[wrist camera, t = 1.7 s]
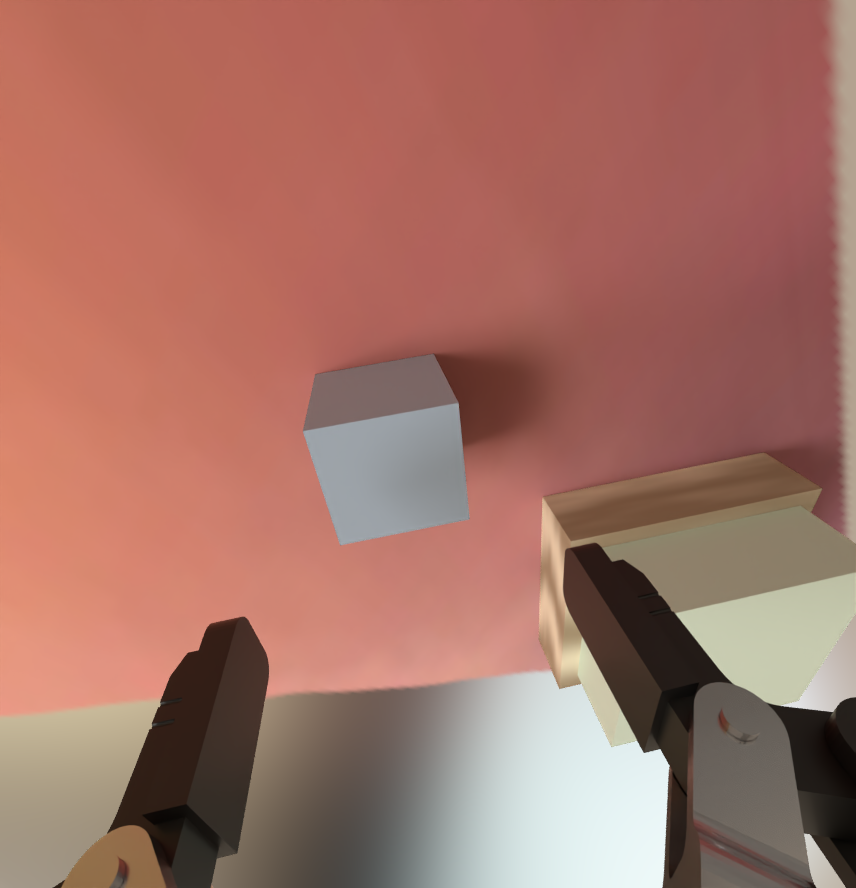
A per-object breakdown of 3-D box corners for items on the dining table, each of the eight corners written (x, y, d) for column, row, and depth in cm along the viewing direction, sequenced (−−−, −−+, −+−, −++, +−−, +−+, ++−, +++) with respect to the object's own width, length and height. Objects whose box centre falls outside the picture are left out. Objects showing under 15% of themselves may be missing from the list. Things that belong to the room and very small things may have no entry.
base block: (538, 490, 23) (570, 541, 20) (755, 447, 24) (822, 488, 21) (535, 633, 30) (559, 688, 26) (705, 594, 31) (749, 644, 27)
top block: (592, 550, 20) (640, 621, 17) (800, 505, 21) (886, 565, 18) (577, 675, 26) (611, 747, 23) (741, 636, 27) (798, 701, 23)
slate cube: (315, 373, 17) (303, 431, 13) (433, 353, 18) (458, 402, 13) (343, 470, 20) (340, 545, 16) (445, 451, 20) (469, 519, 16)
